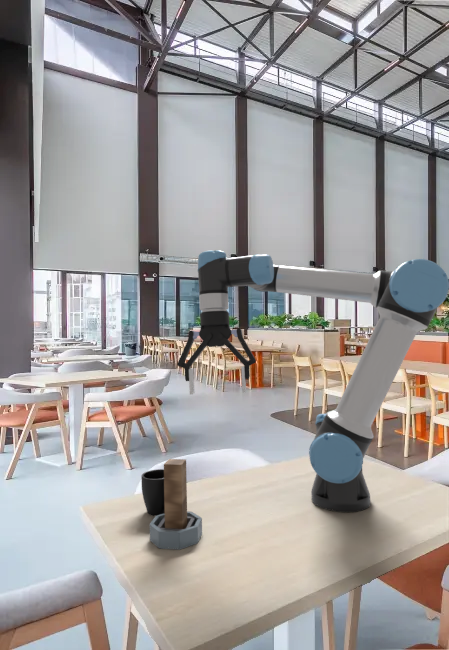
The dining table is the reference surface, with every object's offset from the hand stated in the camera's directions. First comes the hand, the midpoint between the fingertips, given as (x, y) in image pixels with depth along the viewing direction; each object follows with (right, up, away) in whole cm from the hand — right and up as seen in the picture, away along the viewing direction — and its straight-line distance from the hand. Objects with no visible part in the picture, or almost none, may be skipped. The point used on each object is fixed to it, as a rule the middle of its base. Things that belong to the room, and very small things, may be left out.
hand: (218, 393), depth 110 cm
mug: (-14, -30, -3) cm, 34 cm away
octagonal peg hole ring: (-9, -30, -15) cm, 35 cm away
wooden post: (-9, -29, -15) cm, 34 cm away
